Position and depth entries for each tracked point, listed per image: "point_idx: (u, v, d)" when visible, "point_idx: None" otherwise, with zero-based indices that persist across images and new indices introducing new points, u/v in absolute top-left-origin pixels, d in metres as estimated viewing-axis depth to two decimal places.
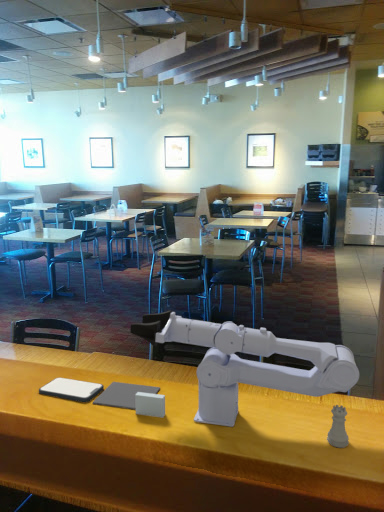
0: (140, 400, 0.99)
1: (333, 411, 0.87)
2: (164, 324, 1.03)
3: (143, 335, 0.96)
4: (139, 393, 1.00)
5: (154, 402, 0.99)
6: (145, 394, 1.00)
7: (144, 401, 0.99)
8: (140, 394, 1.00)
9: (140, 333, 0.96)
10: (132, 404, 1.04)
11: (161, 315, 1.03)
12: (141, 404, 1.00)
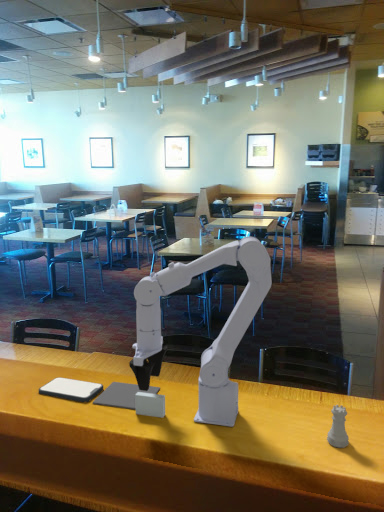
0: (140, 400, 0.99)
1: (333, 411, 0.87)
2: (156, 354, 1.02)
3: (146, 377, 0.94)
4: (139, 393, 1.00)
5: (154, 402, 0.99)
6: (145, 394, 1.00)
7: (144, 401, 0.99)
8: (140, 394, 1.00)
9: (145, 380, 0.94)
10: (132, 404, 1.04)
11: (148, 356, 1.02)
12: (141, 404, 1.00)
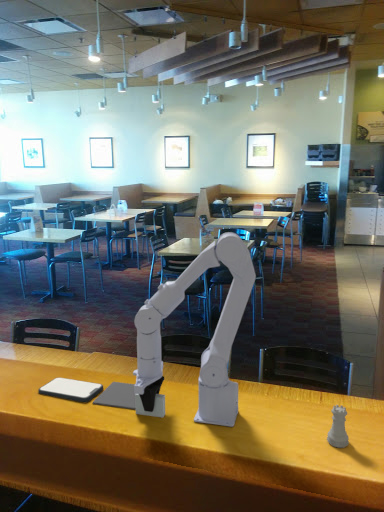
0: (140, 400, 0.99)
1: (333, 411, 0.87)
2: (153, 384, 1.00)
3: (151, 399, 0.98)
4: None
5: None
6: None
7: None
8: None
9: (150, 402, 0.98)
10: (132, 404, 1.04)
11: None
12: (141, 404, 1.00)
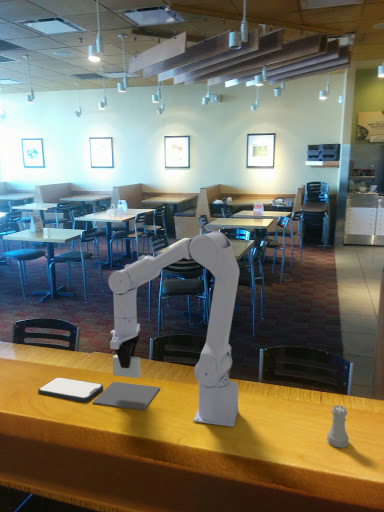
0: (117, 362, 1.07)
1: (333, 411, 0.87)
2: (129, 343, 1.08)
3: (127, 356, 1.05)
4: (116, 356, 1.08)
5: (130, 363, 1.07)
6: None
7: None
8: (117, 356, 1.08)
9: (126, 359, 1.06)
10: (132, 404, 1.04)
11: None
12: (118, 366, 1.08)
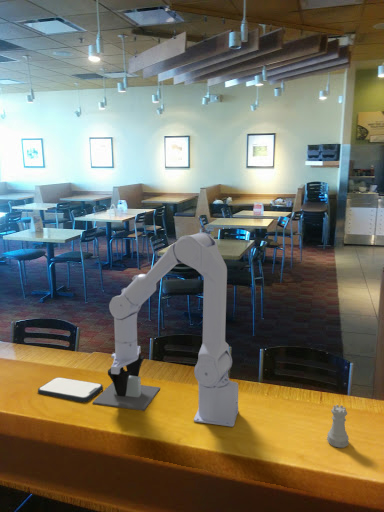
0: None
1: (333, 411, 0.87)
2: (134, 362, 1.11)
3: (123, 384, 1.04)
4: None
5: (130, 383, 1.07)
6: None
7: None
8: None
9: (122, 387, 1.04)
10: (132, 404, 1.04)
11: (126, 365, 1.12)
12: None
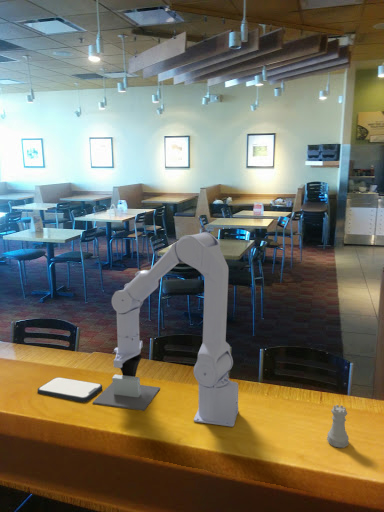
0: (117, 382, 1.08)
1: (333, 411, 0.87)
2: None
3: (131, 372, 1.08)
4: (116, 376, 1.09)
5: (129, 384, 1.07)
6: (121, 377, 1.08)
7: (120, 383, 1.08)
8: (117, 376, 1.08)
9: (130, 375, 1.09)
10: (132, 404, 1.04)
11: None
12: (118, 386, 1.08)
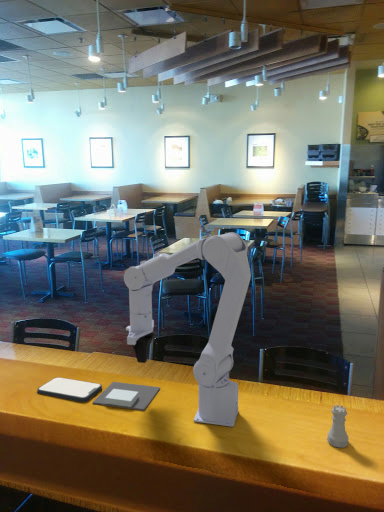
0: None
1: (333, 411, 0.87)
2: None
3: (144, 351, 1.07)
4: (107, 400, 1.04)
5: None
6: (113, 401, 1.04)
7: None
8: (109, 401, 1.04)
9: (143, 353, 1.07)
10: None
11: None
12: None
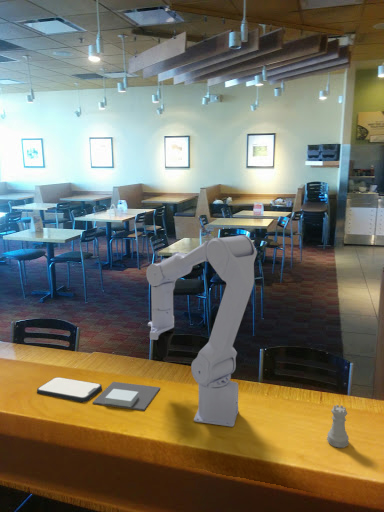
0: None
1: (333, 411, 0.87)
2: None
3: (165, 346, 1.10)
4: (107, 400, 1.04)
5: None
6: (113, 401, 1.04)
7: None
8: (109, 401, 1.04)
9: (164, 348, 1.10)
10: None
11: None
12: None
